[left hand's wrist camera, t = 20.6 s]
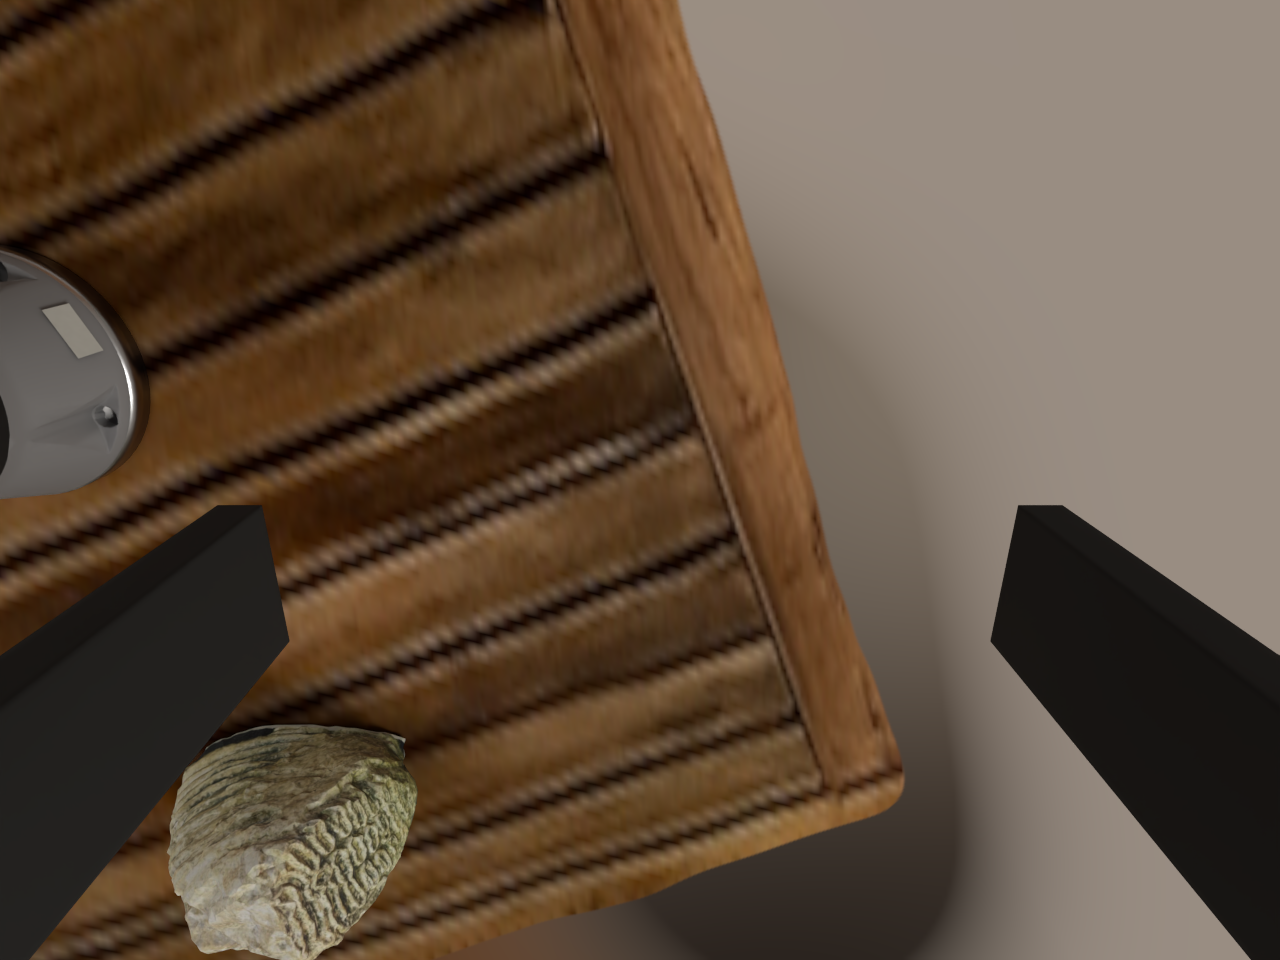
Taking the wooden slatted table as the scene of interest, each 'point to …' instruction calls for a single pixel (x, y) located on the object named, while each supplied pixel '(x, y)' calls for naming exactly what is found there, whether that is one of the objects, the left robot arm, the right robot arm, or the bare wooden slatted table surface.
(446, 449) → the wooden slatted table surface
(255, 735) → the fossil
